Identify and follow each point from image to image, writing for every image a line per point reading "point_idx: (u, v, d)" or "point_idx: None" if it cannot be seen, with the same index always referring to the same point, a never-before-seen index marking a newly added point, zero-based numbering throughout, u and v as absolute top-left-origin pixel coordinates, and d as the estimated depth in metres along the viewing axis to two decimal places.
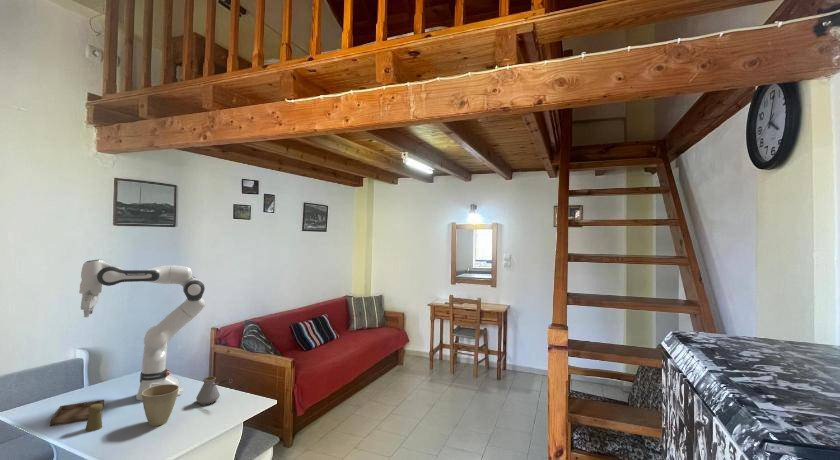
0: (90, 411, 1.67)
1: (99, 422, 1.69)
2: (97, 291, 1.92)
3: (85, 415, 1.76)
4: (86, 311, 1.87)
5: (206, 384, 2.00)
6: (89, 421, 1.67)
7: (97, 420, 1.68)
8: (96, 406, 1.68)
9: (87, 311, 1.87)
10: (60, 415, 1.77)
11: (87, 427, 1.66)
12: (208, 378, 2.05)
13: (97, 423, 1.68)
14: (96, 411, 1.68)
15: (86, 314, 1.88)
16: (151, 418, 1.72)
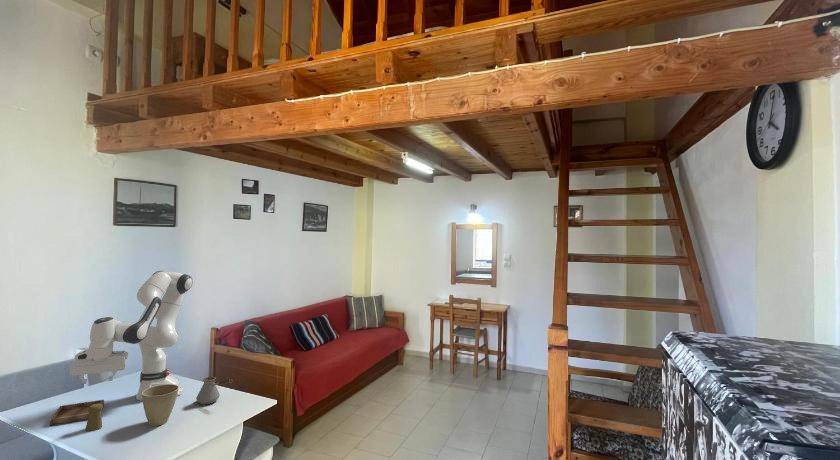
0: (90, 411, 1.67)
1: (99, 422, 1.69)
2: None
3: (85, 415, 1.76)
4: (115, 373, 1.74)
5: (206, 384, 2.00)
6: (89, 421, 1.67)
7: (97, 420, 1.68)
8: (96, 406, 1.68)
9: (115, 373, 1.74)
10: (60, 415, 1.77)
11: (87, 427, 1.66)
12: (208, 378, 2.05)
13: (97, 423, 1.68)
14: (96, 411, 1.68)
15: None
16: (151, 418, 1.72)
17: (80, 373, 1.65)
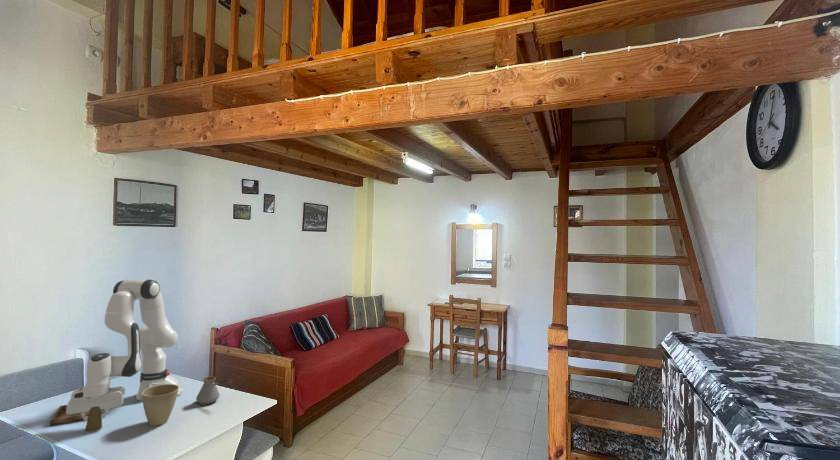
0: (90, 411, 1.67)
1: (99, 422, 1.69)
2: None
3: None
4: None
5: (206, 384, 2.00)
6: (89, 421, 1.67)
7: (97, 420, 1.68)
8: (96, 406, 1.68)
9: None
10: (60, 415, 1.77)
11: (87, 427, 1.66)
12: (208, 378, 2.05)
13: (96, 423, 1.68)
14: (96, 411, 1.68)
15: (105, 414, 1.71)
16: (151, 418, 1.72)
17: (77, 411, 1.65)
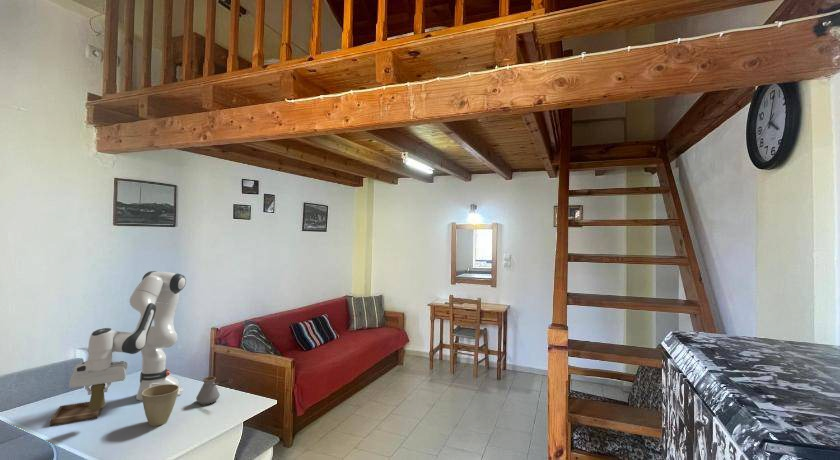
0: (93, 389, 1.68)
1: (102, 400, 1.70)
2: None
3: (85, 415, 1.76)
4: None
5: (206, 384, 2.00)
6: (92, 399, 1.68)
7: (99, 398, 1.69)
8: (98, 385, 1.69)
9: None
10: (60, 415, 1.77)
11: (90, 405, 1.67)
12: (208, 378, 2.05)
13: (99, 401, 1.69)
14: (99, 389, 1.69)
15: (107, 388, 1.72)
16: (151, 418, 1.72)
17: (80, 385, 1.65)
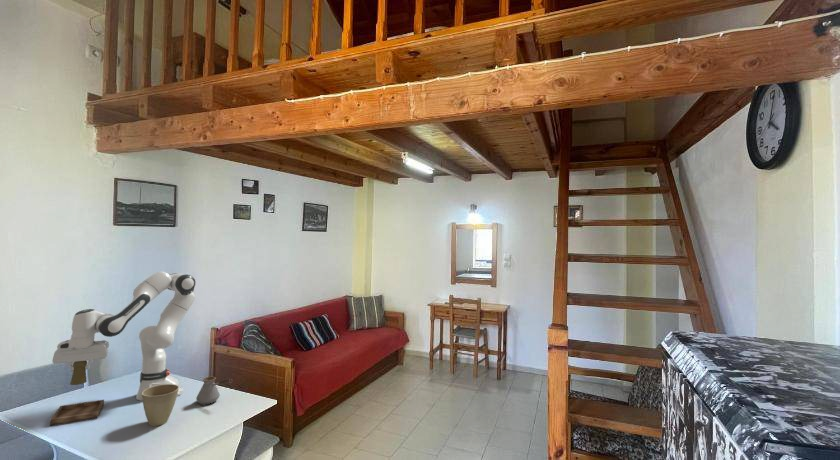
0: (75, 366, 1.78)
1: (83, 377, 1.80)
2: None
3: (85, 415, 1.76)
4: None
5: (206, 384, 2.00)
6: (74, 375, 1.78)
7: (81, 374, 1.79)
8: (80, 362, 1.79)
9: None
10: (60, 415, 1.77)
11: (72, 381, 1.77)
12: (208, 378, 2.05)
13: (81, 378, 1.79)
14: (80, 366, 1.79)
15: (89, 365, 1.83)
16: (151, 418, 1.72)
17: (63, 361, 1.76)
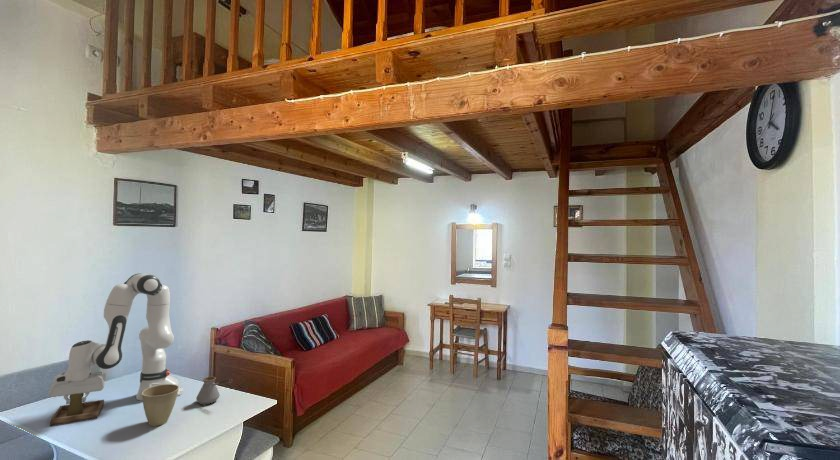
0: (71, 398, 1.77)
1: (80, 408, 1.79)
2: None
3: (85, 415, 1.76)
4: (88, 394, 1.82)
5: (206, 384, 2.00)
6: (70, 407, 1.77)
7: (77, 406, 1.78)
8: None
9: (88, 394, 1.82)
10: (60, 415, 1.77)
11: (68, 413, 1.76)
12: (208, 378, 2.05)
13: (77, 410, 1.78)
14: (77, 398, 1.78)
15: None
16: (151, 418, 1.72)
17: (59, 394, 1.75)
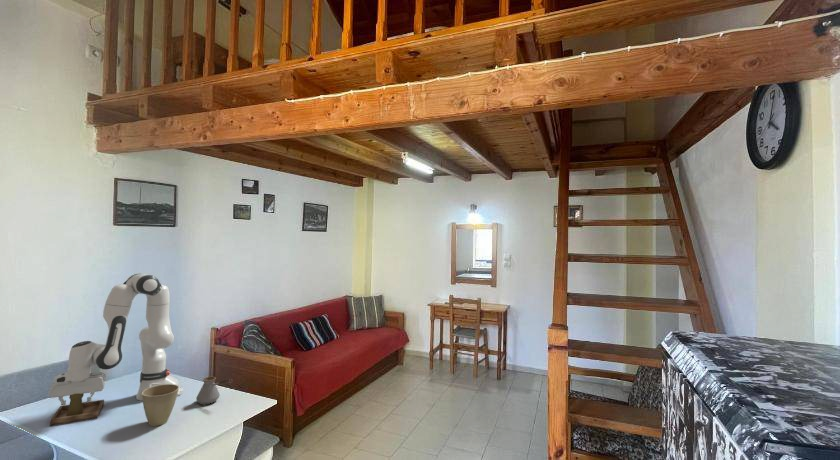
0: (71, 398, 1.77)
1: (80, 408, 1.79)
2: None
3: (85, 415, 1.76)
4: (93, 394, 1.83)
5: (206, 384, 2.00)
6: (70, 407, 1.77)
7: (77, 406, 1.78)
8: None
9: (93, 393, 1.84)
10: (60, 415, 1.77)
11: (68, 413, 1.76)
12: (208, 378, 2.05)
13: (77, 410, 1.78)
14: (77, 398, 1.78)
15: None
16: (151, 418, 1.72)
17: (59, 395, 1.75)
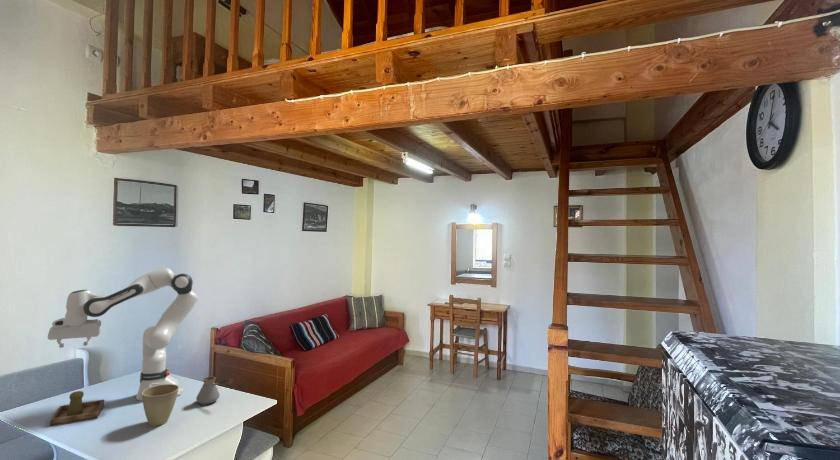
0: (71, 398, 1.77)
1: (80, 408, 1.79)
2: None
3: (85, 415, 1.76)
4: (89, 339, 1.95)
5: (206, 384, 2.00)
6: (70, 407, 1.77)
7: (77, 406, 1.78)
8: (77, 393, 1.78)
9: None
10: (60, 415, 1.77)
11: (68, 413, 1.76)
12: (208, 378, 2.05)
13: (77, 410, 1.78)
14: (77, 398, 1.78)
15: (87, 342, 1.95)
16: (151, 418, 1.72)
17: (57, 338, 1.87)
